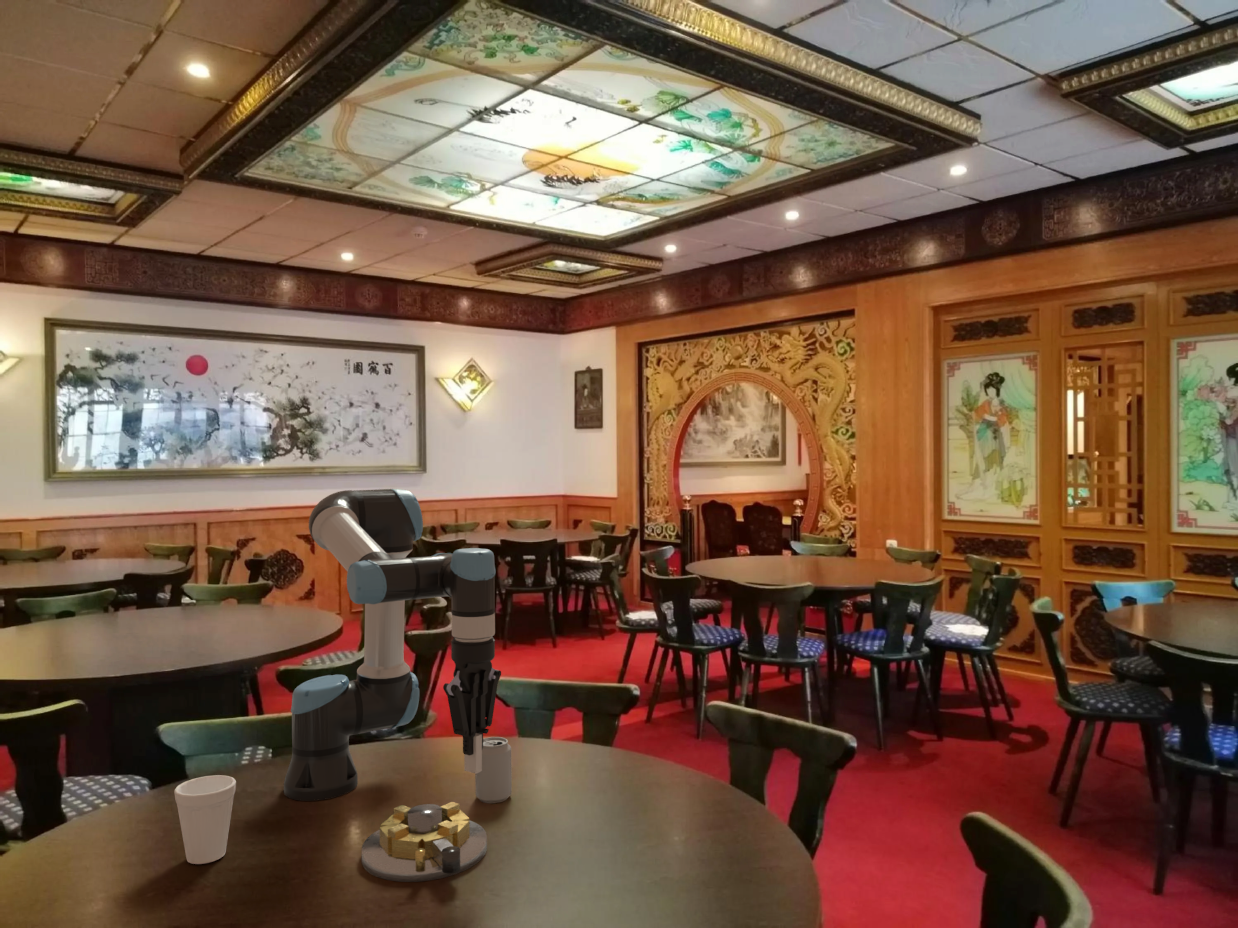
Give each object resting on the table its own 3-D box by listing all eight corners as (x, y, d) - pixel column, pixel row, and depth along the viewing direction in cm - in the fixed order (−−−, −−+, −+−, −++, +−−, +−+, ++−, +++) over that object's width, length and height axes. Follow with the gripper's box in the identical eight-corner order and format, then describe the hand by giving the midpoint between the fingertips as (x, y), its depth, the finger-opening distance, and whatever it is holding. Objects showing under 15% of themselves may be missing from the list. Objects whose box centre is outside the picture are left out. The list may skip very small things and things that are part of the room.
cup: (205, 874, 147) (204, 798, 147) (161, 865, 150) (160, 791, 150) (249, 850, 156) (248, 778, 156) (207, 842, 160) (206, 772, 160)
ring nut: (372, 833, 157) (371, 810, 157) (450, 815, 165) (450, 793, 165) (409, 884, 138) (409, 858, 138) (496, 861, 146) (496, 836, 146)
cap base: (343, 847, 157) (343, 806, 157) (454, 816, 170) (453, 779, 170) (390, 894, 139) (389, 848, 139) (509, 856, 152) (508, 814, 152)
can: (504, 805, 175) (504, 747, 175) (470, 803, 177) (469, 745, 177) (516, 792, 183) (515, 735, 183) (483, 789, 184) (482, 733, 184)
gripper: (481, 628, 158) (481, 755, 159) (431, 641, 147) (431, 778, 147) (513, 632, 154) (513, 763, 155) (464, 647, 143) (464, 787, 143)
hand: (473, 770), depth 151 cm, fingers closed
